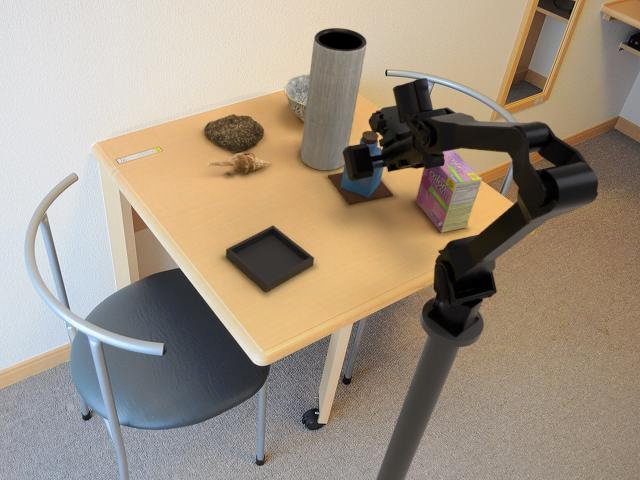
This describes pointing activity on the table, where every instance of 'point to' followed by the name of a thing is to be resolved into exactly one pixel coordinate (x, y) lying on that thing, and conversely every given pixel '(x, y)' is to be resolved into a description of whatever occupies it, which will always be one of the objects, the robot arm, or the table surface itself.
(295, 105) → the bowl
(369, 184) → the perfume bottle
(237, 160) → the spiral seashell
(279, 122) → the table surface
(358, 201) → the mat
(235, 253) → the tray
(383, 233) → the table surface
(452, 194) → the box
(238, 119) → the bread roll
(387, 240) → the table surface
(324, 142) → the planter
